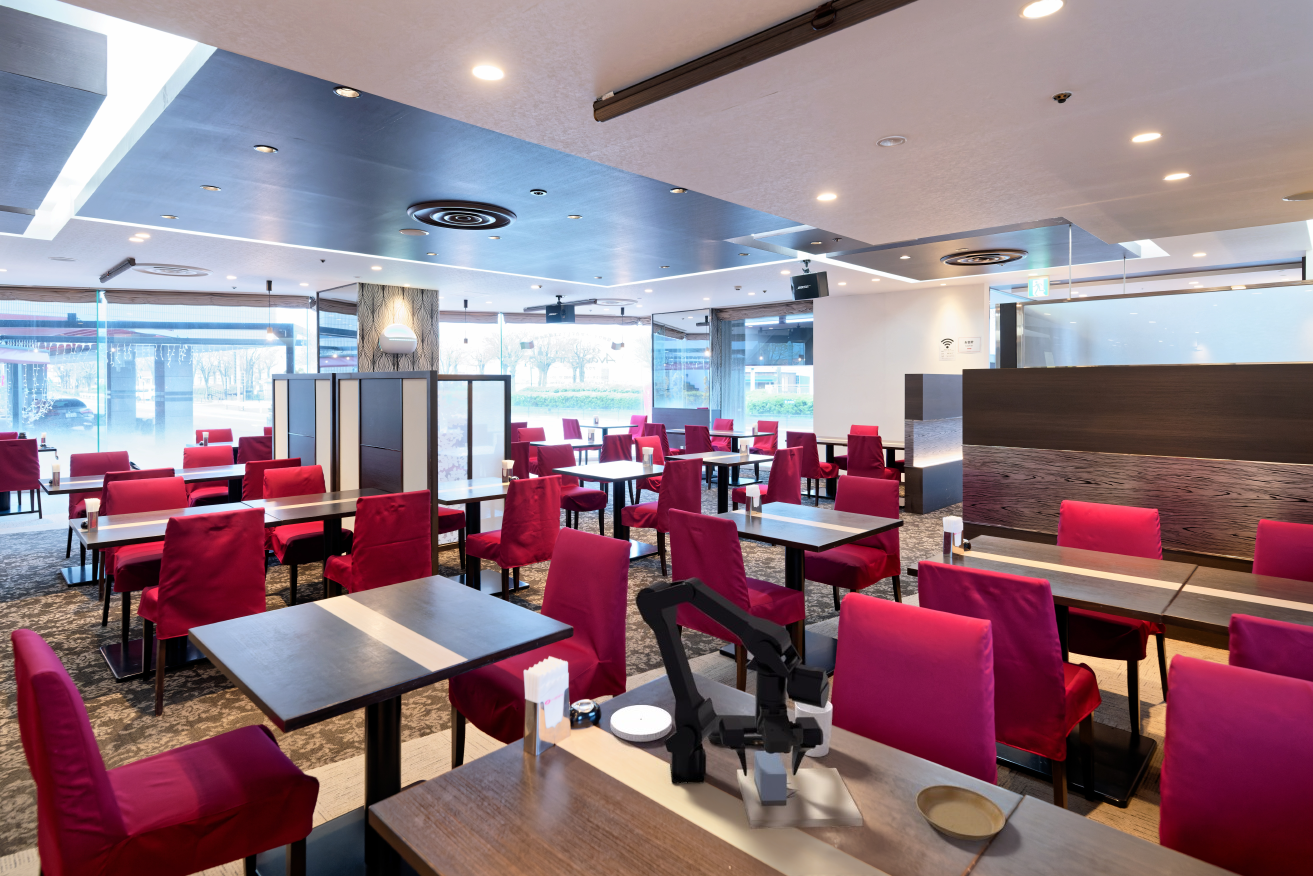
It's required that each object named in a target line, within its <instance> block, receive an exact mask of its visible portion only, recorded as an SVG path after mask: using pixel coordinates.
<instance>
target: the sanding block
mask: <svg viewBox="0 0 1313 876" xmlns="http://www.w3.org/2000/svg"><path fill="white" fill-rule="evenodd" d="M753 767H754V768H753V769H754V782H755V785H756V788H757V791H758V795H759V798H760V801H761V804H762V806H786V801H787V773H786V770H785V769H786V768H785V766H784V763H783V760H782V758H781V755H780V753H774V754H769V753H767V752H766V751H765V750H754V765H753Z"/></svg>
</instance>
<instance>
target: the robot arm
mask: <svg viewBox="0 0 1313 876" xmlns="http://www.w3.org/2000/svg"><path fill="white" fill-rule="evenodd" d="M684 603H689V604H690V605H691V606H693V607H694V608H696V609H697V610H699V611H700V612H701V613H703V614H705V616H707V617H709V618H710V619H712V620H713V621H714V622H716V623H717V624H720V626H722V627H724V628H725V629H726V630H727V631H729V632H731V633H732V634H734V635H735V636H736V637H737V639H739V640H740V641H741V643H742V644H743V646H744V648H745V649H746V651H747V652H749V653H750V654H751V655H752V656H753V657H752V658H751V659H750V661H748V662H747V663H745V665H744V669H745V670H749V671H754V672H755V696H754V699H755V703H754V704H755V705H754V706H755V707H754V708H755V709H754V710H755V711H754V712H755V713H754V716H755V725H742V723H741V720H740V718H722V719H721V720H720V722H719V733H720V737H721V741H722V743H721V745H722V746H724V747H728V748H729V749H730V750H732V751H735V752H736V754H737V757H738V758H739V761H740V765H741V770H743V772H744V776H747V769H748V766H747V757H746V756H747V755H746V744H744V736H762V739H763V744H762V745H763V749H764V751H766V752H767V753H769V754H774V753H779V754H789V753H791V752H792V753H791V769H792V774H793V775H796V773H797V770H798V769H800V765H801V763H802V762H803V759H804V756H806V755H805V753H806V752H807V751H808V750H810V749H814V748H815V747H816V745H822V744H823V731H822V729H821V727H820V725H819V723H818V721H817V720H816V719H815V718H814V717H796V719H794V720H795V721H793V720H790V719H789V715H788V706H787V696H788V699H789V700H791V701H792V702H794V703H795V702H799V703H803V704H807V705H812V706H816V707H820V708H825V706H826V704H827V701H829V695H830V681H829V677H828V675H827V669H826V668H825V667H819V666H817V667H816V666H809V665H805V664H801V662H803V659H802V657H801V655H800V654H799V652H798V651H797V649H796V648H795V645H793V643H792V639H791V637H790V636H791V635H790V632H789V631H788V630H787V629H786V628H785V627H784V626H782V625H780V624H778V623H775V622H774V621H772V620H769V619H767V618H762V617H758V616H755V615H753V614H750V613H749V612H747V611H745V610H744V609H742V608H741V607H739V606H738V605H737V604H735V603H734V602H732V601H730V600H729V599H727V597H725V596H723V595H722V594H720V593H718V592H717V591H715V589H712V588H711V587H709V585H706V584H705V583H704V582H703V581H702V579H700V578H698V577H690V578H688V579H682V580H681V579H680V580H676V581H672V582H667V581H666V580H656V581H655V582H653V583H651V584H649V585H648V586H645V587H643V588H641V589H640V590H639V591H638V592H637V593H636V596H635V604H636V608H637V609H638V613H639V614H640V616H641V618H642V620H643V621H644V623H645V624H646V625H647V626H648V627H649V628H650V629H651V630H652V631H653V633H654V634H653V635H654V637H655V639H656V643H657V646H658V649H659V652H660V655H661V658H662V663H663V666H664V669H665V672H666V675H667V678H668V682H669V685H670V688H671V692H672V695H673V697H674V703H675V704H674V715H673V721H674V726H675V730H674V731H673V732H672V734H671V735H670V736H669V737H667V738H666V740H665V741H664V745H665V748H666V751H667V752H668V753H670V764H669V769H670V780H671V783H672V784H703V783H705V775H707V754H706V749H705V748H704V745H703V742H704V741H705V740H706V739H707V738H708V736H709V735H710V734H711V733H712V731H713V730H714V728H715V726H716V719H715V718H716V717H717V715H718V714H717V713H716V712H715V709H714V706H713V701H712V698H711V697H707V698H704V697H703V696H702V694H700V692H699V690H698V688H697V684H696V681H695V678H694V676H693V672H692V669H691V665H690V662H689V659H688V656H687V653H686V650H685V647H684V643H683V641H682V638H681V634H680V631H679V628H678V624H677V617H678V616H677V615H678V605H680V604H684ZM783 657H786V659H785V660H784V661H783V659H782V658H783Z"/></svg>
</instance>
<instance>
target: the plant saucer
mask: <svg viewBox="0 0 1313 876" xmlns="http://www.w3.org/2000/svg"><path fill="white" fill-rule="evenodd" d="M915 804H916V807H917V809H918V811H919V812H920V814H921V815H922V816H923V818H924V819H925V820H926V821H927V822H928V823H929V824H930V825H932V827H934V828H935V829H936V830H937V831H939V832H941V833H942V834H944V835H947V836H949V837H951V838H954V839H958V840H962V841H967V840H971V841H972V842H973V841H975V840H978V841H982V840H986V839H988V838H990V837H992V836H994V835H996V834H998V832H1000V831H1001V830H1002V829H1003V828H1004V827H1005V824H1006V817H1005V813H1004V812H1003V810H1002V809H1001V808H1000V806H999V805H998V804H997V803H996V802H994V801H993V800H992V799H990V798H989V797H987V796H985V795H983V794H982V793H979V792H977V791H976V790H972V789H969V788H966V787H962V786H957V785H952V784H951V785H950V784H938V785H937V784H936V785H929V786H927V787H924V788H922V789H921V790H919V792H918V793H917V794H916V797H915ZM971 841H970V842H971ZM975 842H976V841H975Z"/></svg>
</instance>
